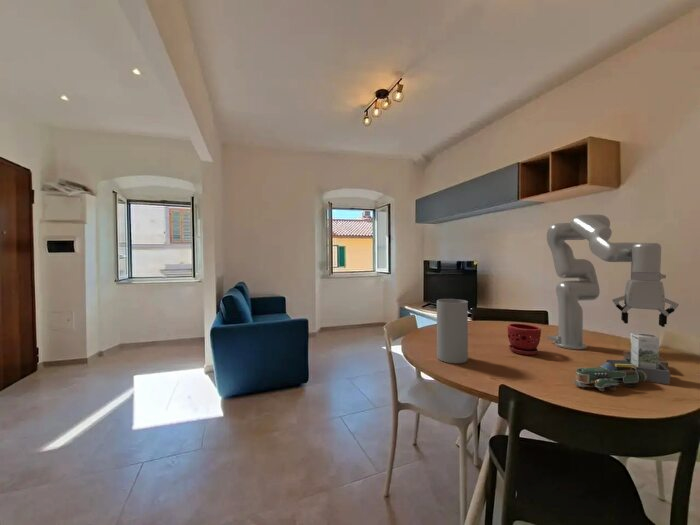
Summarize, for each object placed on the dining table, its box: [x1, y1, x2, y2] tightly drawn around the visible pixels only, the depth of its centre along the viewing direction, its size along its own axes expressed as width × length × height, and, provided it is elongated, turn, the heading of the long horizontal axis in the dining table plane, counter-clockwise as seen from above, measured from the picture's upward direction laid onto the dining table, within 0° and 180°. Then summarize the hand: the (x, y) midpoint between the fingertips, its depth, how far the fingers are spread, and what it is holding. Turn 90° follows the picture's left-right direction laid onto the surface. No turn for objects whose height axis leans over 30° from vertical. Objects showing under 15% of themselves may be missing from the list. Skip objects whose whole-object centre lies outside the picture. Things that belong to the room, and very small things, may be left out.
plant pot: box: [507, 323, 542, 356], centre depth 138 cm, size 13×13×12 cm
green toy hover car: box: [573, 361, 647, 392], centre depth 101 cm, size 10×25×8 cm, turn 94°
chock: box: [606, 359, 637, 371], centre depth 107 cm, size 6×5×6 cm
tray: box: [621, 357, 671, 386], centre depth 109 cm, size 10×10×4 cm
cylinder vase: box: [436, 298, 469, 365], centre depth 129 cm, size 12×12×25 cm
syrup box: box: [629, 332, 660, 369], centre depth 109 cm, size 6×6×14 cm
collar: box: [623, 350, 669, 370], centre depth 118 cm, size 10×10×4 cm
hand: (643, 324), depth 109 cm, fingers open, 9 cm apart
